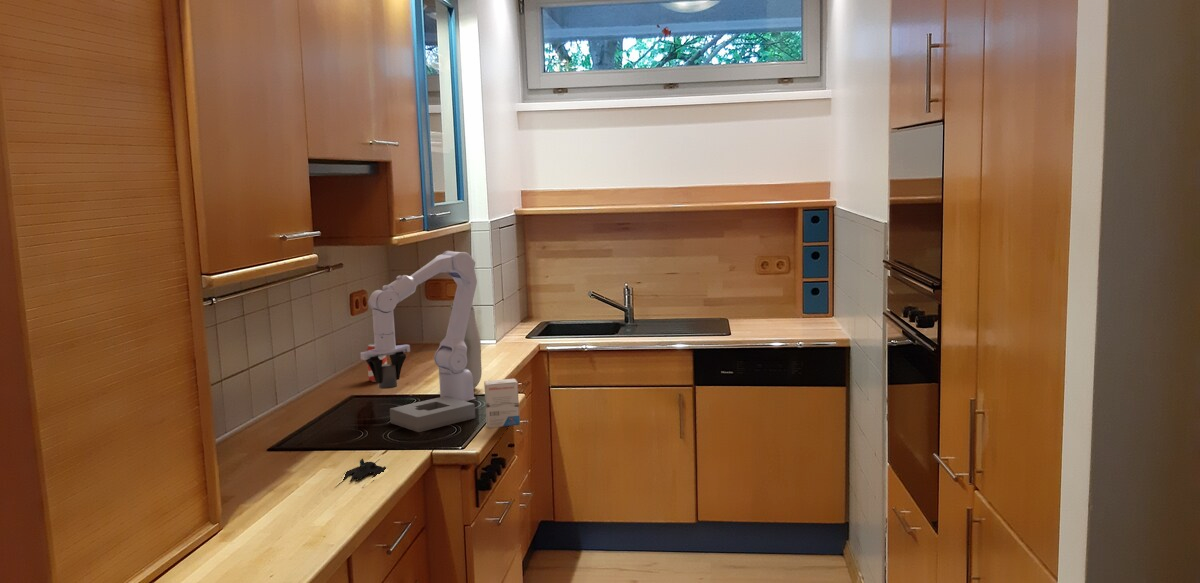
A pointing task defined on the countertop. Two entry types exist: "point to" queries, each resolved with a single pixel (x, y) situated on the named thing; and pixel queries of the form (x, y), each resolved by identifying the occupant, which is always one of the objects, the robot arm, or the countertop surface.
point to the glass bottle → (473, 348)
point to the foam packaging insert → (432, 413)
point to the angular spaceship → (364, 470)
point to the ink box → (501, 403)
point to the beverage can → (383, 358)
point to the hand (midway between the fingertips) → (387, 381)
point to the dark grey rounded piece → (388, 376)
